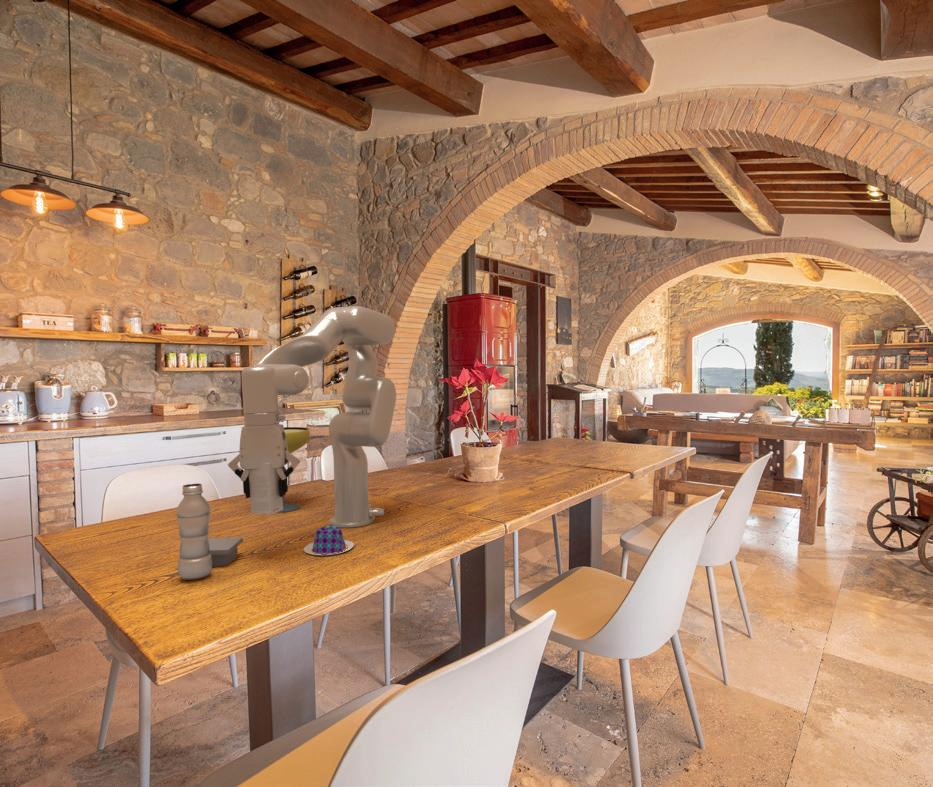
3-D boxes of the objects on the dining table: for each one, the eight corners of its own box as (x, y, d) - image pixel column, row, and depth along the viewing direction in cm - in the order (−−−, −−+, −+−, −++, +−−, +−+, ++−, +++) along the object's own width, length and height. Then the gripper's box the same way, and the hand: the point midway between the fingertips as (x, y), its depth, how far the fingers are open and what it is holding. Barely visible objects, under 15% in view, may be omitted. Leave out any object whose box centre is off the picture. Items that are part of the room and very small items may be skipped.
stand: (243, 553, 132) (242, 537, 132) (228, 567, 123) (228, 549, 123) (201, 555, 132) (200, 538, 132) (183, 568, 123) (182, 551, 123)
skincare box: (283, 510, 129) (281, 459, 128) (271, 515, 125) (268, 463, 124) (262, 508, 131) (259, 458, 130) (250, 513, 127) (247, 462, 126)
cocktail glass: (320, 509, 173) (317, 430, 172) (260, 519, 163) (257, 435, 161) (301, 498, 188) (299, 425, 186) (245, 507, 177) (243, 430, 176)
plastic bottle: (185, 572, 121) (182, 482, 120) (217, 571, 121) (214, 481, 120) (172, 584, 114) (168, 489, 113) (206, 582, 115) (202, 487, 114)
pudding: (359, 541, 141) (358, 521, 141) (346, 558, 129) (346, 536, 129) (313, 541, 142) (312, 521, 141) (296, 558, 130) (295, 536, 129)
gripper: (304, 416, 130) (307, 490, 132) (229, 419, 130) (234, 493, 131) (295, 420, 123) (299, 498, 124) (216, 423, 122) (221, 502, 123)
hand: (266, 495), depth 128 cm, fingers closed on skincare box, 7 cm apart
